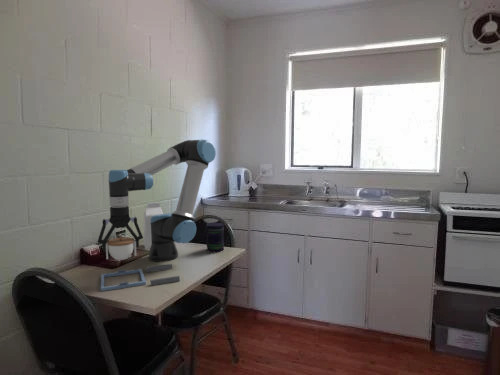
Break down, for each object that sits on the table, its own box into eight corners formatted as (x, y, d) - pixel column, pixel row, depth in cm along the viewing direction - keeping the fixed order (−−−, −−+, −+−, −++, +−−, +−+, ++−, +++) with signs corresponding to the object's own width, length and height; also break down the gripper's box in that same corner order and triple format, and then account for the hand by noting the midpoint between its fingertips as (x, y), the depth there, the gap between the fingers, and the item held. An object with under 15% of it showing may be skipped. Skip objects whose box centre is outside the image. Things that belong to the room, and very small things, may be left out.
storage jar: (208, 247, 198) (207, 222, 197) (225, 247, 198) (224, 222, 196) (205, 252, 188) (204, 226, 187) (223, 252, 188) (222, 226, 186)
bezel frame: (141, 271, 159) (141, 267, 159) (145, 284, 143) (145, 279, 143) (101, 276, 152) (101, 272, 152) (100, 291, 136) (100, 286, 136)
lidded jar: (105, 256, 148) (104, 235, 147) (130, 252, 154) (129, 232, 153) (111, 263, 139) (110, 241, 138) (138, 258, 145) (137, 237, 144)
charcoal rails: (171, 267, 163) (171, 263, 163) (179, 281, 147) (179, 276, 146) (146, 271, 159) (145, 267, 159) (150, 285, 142) (150, 280, 142)
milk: (145, 249, 195) (143, 204, 192) (143, 244, 206) (141, 202, 203) (166, 247, 200) (165, 203, 197) (163, 242, 210) (162, 200, 208)
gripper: (89, 209, 136) (91, 262, 138) (148, 205, 145) (150, 255, 147) (89, 206, 143) (92, 257, 145) (146, 203, 152) (148, 251, 154)
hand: (121, 256), depth 146 cm, fingers closed on lidded jar, 11 cm apart
